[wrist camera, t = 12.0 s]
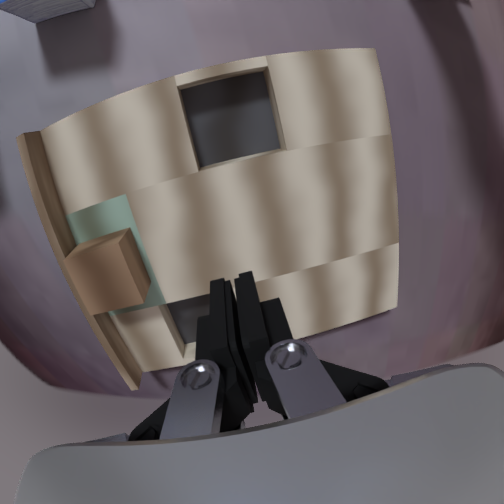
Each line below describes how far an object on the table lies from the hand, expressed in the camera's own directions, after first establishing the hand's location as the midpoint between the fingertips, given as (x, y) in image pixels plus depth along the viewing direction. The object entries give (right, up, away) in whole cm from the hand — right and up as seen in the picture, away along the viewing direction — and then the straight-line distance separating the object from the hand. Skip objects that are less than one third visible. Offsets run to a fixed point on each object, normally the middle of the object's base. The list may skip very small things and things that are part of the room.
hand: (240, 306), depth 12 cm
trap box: (-1, +5, +19) cm, 20 cm away
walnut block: (-13, +1, +16) cm, 21 cm away
